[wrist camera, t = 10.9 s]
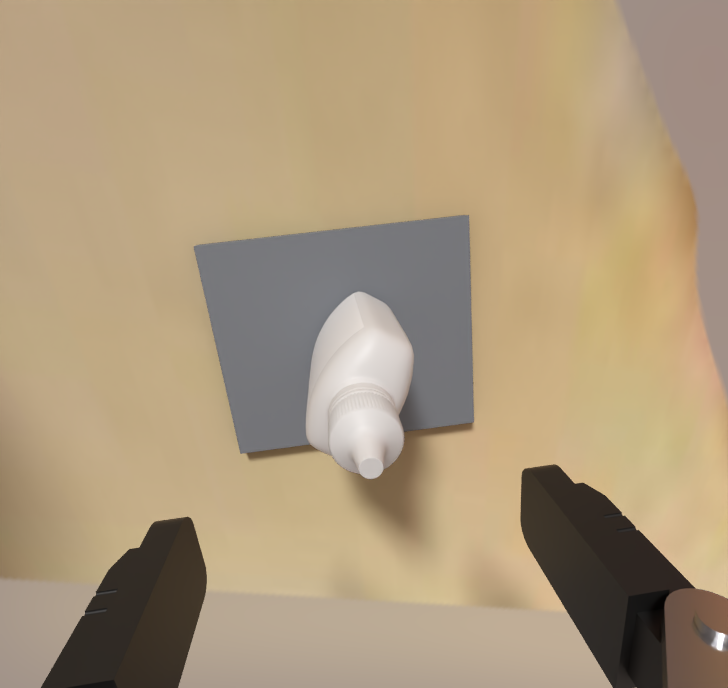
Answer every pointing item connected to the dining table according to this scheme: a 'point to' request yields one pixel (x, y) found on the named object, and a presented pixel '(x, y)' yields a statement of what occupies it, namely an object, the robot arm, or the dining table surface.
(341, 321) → the eye dropper bottle
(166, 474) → the dining table surface
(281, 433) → the slate mat
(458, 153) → the dining table surface
